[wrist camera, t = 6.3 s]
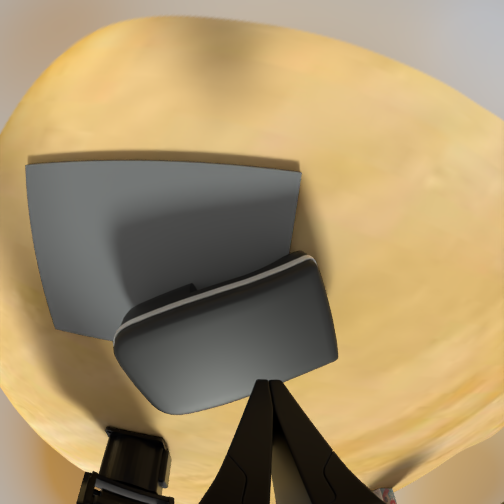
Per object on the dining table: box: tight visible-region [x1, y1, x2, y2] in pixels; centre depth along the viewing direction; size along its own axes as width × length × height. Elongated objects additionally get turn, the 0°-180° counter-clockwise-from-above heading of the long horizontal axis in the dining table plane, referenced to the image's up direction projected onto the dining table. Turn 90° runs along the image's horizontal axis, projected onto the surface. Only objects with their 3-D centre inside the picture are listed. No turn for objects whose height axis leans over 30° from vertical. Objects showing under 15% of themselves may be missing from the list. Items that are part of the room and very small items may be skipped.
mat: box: [25, 160, 302, 341], centre depth 16 cm, size 16×12×1 cm
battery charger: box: [113, 251, 338, 415], centre depth 15 cm, size 7×4×11 cm
